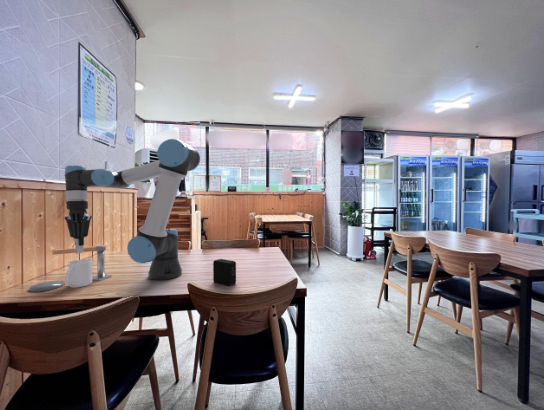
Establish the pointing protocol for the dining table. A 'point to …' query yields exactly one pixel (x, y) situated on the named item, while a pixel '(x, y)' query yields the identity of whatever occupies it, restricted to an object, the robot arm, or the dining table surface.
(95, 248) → the orange-brown wooden bar
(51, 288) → the disc
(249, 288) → the dining table surface
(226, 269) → the electronic device
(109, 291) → the dining table surface
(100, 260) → the post
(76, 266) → the mug
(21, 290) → the dining table surface
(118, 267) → the dining table surface
